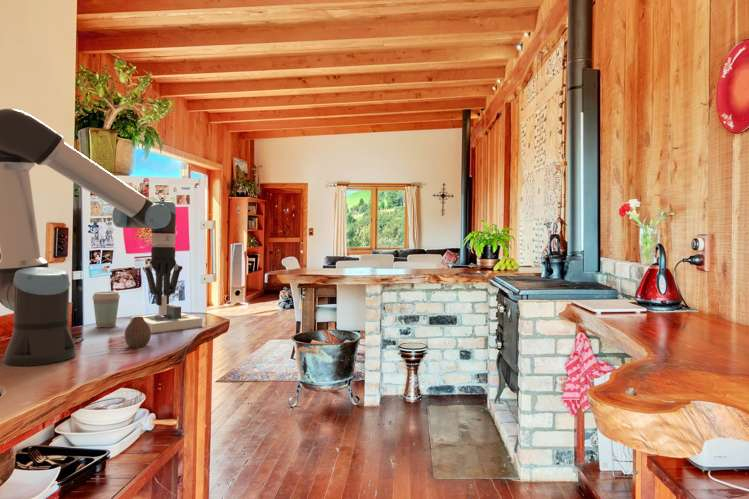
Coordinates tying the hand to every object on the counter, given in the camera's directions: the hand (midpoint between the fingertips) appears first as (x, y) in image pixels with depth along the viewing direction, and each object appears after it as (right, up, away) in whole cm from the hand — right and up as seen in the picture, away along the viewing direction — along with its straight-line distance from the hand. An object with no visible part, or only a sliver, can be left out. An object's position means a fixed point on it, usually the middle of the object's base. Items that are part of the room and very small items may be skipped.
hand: (162, 314), depth 160 cm
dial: (-1, -4, +7) cm, 8 cm away
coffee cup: (-22, -5, +4) cm, 23 cm away
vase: (+3, -7, -23) cm, 24 cm away
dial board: (-2, -5, +8) cm, 10 cm away
